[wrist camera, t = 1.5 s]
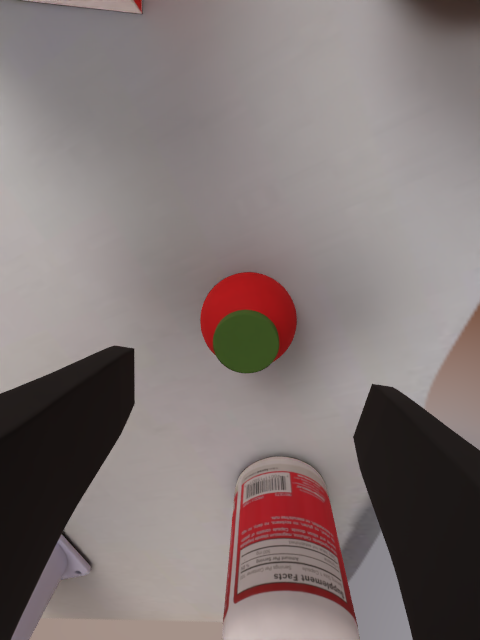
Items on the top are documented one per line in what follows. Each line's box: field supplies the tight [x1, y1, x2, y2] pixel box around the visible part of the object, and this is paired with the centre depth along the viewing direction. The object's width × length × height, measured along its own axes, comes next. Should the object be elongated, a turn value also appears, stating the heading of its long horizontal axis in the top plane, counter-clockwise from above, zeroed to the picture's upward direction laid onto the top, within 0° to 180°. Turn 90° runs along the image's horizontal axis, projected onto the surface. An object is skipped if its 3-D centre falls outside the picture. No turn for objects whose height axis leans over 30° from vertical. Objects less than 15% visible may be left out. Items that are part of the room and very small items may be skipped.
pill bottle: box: [223, 456, 360, 640], centre depth 16 cm, size 6×6×11 cm
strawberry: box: [200, 272, 297, 373], centre depth 14 cm, size 4×4×5 cm
